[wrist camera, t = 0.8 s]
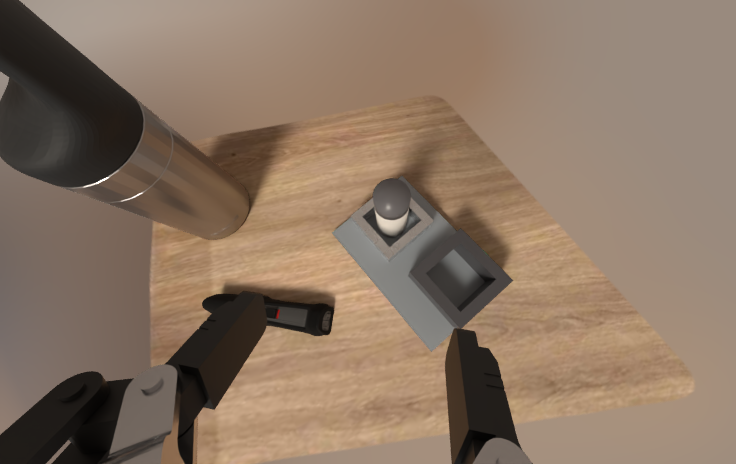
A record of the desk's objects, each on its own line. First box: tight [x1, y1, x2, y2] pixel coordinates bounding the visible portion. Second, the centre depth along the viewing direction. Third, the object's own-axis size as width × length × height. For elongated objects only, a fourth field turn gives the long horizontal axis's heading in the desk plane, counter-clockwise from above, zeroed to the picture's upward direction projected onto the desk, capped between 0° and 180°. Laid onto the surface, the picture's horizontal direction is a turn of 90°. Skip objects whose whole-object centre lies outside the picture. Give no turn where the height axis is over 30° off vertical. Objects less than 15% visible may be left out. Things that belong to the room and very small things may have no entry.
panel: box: [332, 176, 485, 352], centre depth 34 cm, size 18×12×1 cm, turn 40°
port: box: [408, 228, 513, 329], centre depth 31 cm, size 8×8×4 cm
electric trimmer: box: [202, 294, 334, 336], centre depth 33 cm, size 4×16×3 cm, turn 82°
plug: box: [373, 178, 411, 238], centre depth 31 cm, size 4×4×10 cm
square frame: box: [351, 198, 434, 262], centre depth 34 cm, size 7×7×2 cm
